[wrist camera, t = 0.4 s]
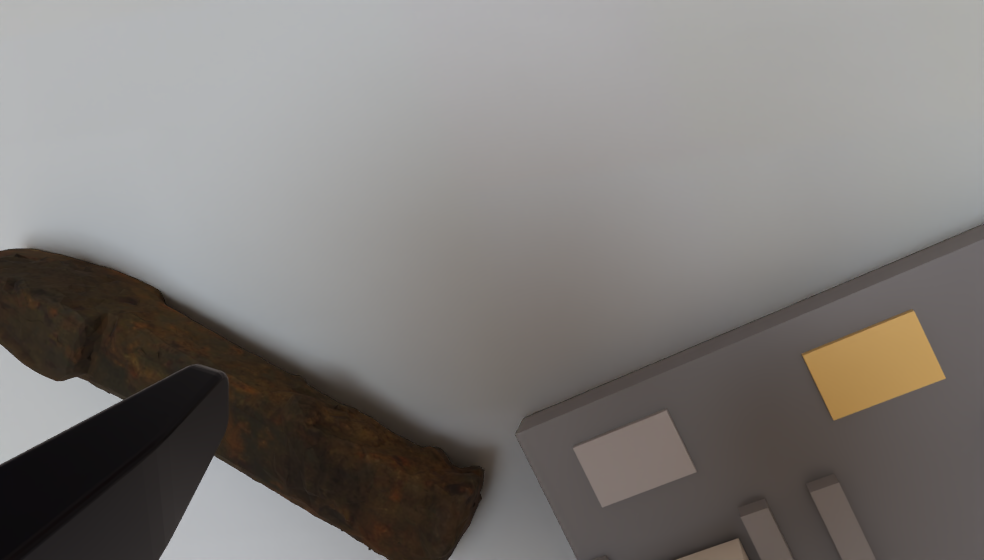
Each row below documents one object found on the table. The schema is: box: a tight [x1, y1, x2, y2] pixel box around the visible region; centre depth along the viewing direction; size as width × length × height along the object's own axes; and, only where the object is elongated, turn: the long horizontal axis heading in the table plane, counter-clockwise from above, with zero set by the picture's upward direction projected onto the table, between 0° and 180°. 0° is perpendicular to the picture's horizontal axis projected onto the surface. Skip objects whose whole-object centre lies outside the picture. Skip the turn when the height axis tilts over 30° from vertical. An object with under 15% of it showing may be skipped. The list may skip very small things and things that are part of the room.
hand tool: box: [0, 249, 484, 560], centre depth 24 cm, size 19×4×5 cm, turn 61°
